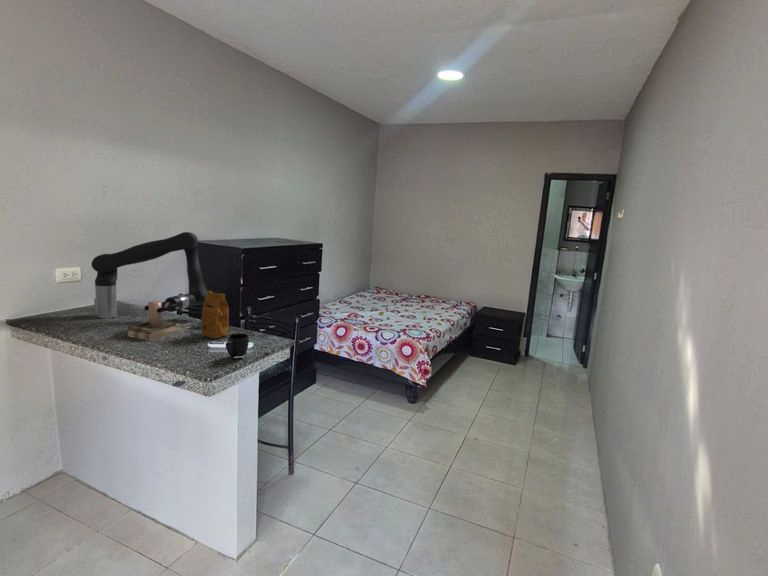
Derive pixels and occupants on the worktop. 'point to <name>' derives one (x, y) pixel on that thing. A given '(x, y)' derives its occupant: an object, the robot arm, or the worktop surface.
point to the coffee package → (215, 316)
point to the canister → (155, 314)
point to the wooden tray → (152, 330)
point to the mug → (237, 344)
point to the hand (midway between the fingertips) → (151, 309)
